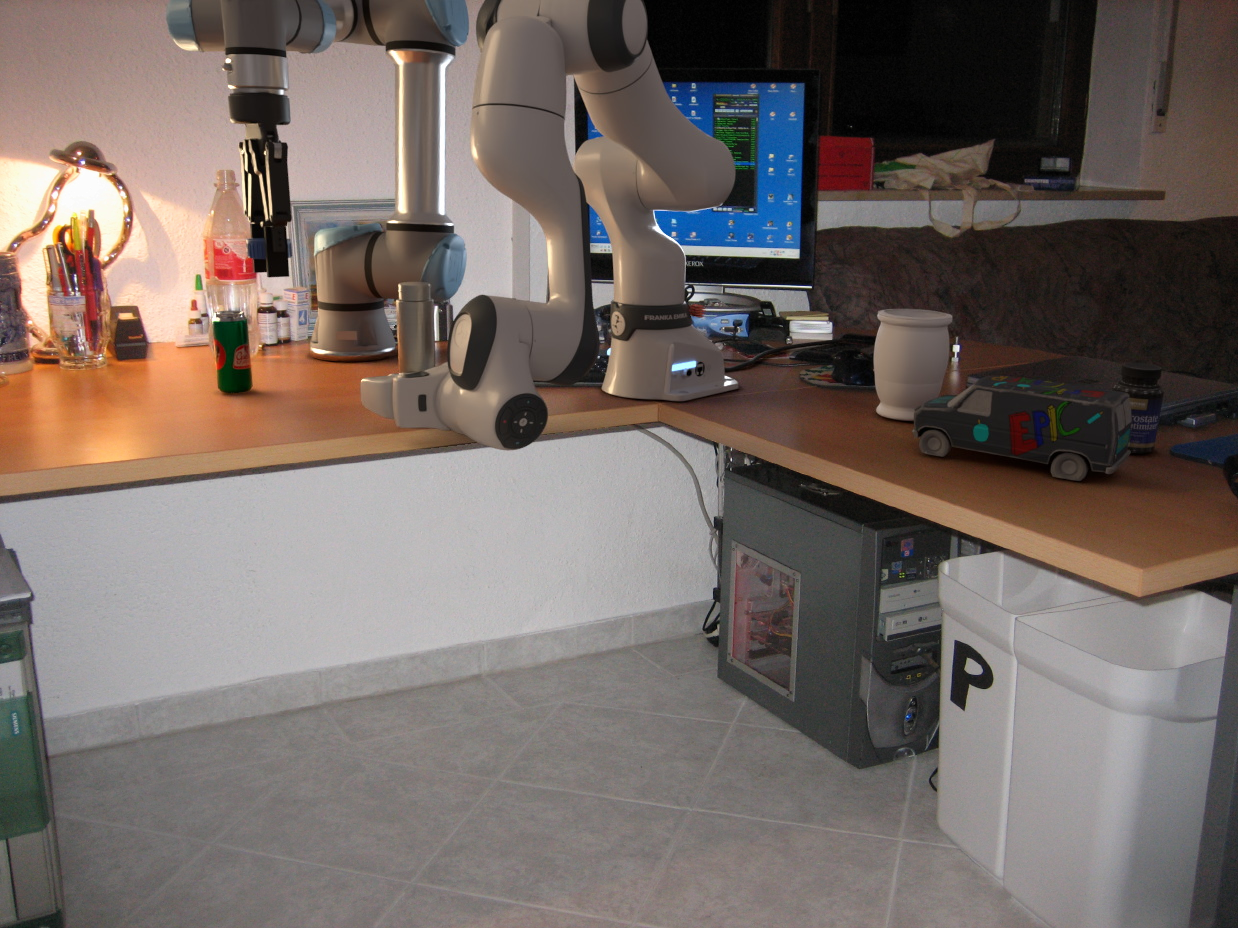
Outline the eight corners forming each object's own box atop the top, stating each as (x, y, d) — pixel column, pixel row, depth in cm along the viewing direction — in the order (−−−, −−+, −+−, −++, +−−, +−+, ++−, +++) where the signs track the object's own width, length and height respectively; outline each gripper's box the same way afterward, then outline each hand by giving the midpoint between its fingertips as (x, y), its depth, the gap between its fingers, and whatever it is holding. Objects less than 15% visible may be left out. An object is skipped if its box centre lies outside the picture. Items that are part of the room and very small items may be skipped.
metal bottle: (416, 427, 145) (411, 286, 140) (393, 421, 148) (387, 283, 143) (444, 421, 149) (440, 283, 143) (421, 415, 152) (416, 280, 146)
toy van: (934, 435, 146) (942, 362, 143) (1130, 468, 132) (1143, 388, 129) (905, 451, 137) (912, 375, 134) (1110, 488, 123) (1124, 404, 121)
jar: (854, 409, 159) (862, 309, 155) (910, 404, 163) (920, 306, 159) (898, 426, 150) (909, 320, 146) (957, 420, 154) (969, 317, 150)
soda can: (241, 395, 161) (235, 315, 157) (211, 393, 162) (204, 314, 158) (259, 388, 165) (253, 311, 162) (229, 386, 166) (223, 309, 163)
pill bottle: (1117, 454, 138) (1130, 370, 135) (1094, 442, 144) (1106, 361, 140) (1163, 454, 138) (1177, 370, 135) (1139, 442, 144) (1152, 361, 141)
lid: (273, 254, 147) (272, 237, 146) (301, 257, 144) (300, 239, 143) (238, 257, 142) (236, 239, 142) (266, 260, 139) (264, 241, 139)
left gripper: (210, 93, 143) (224, 269, 149) (249, 88, 128) (263, 283, 134) (266, 96, 147) (277, 267, 153) (311, 91, 132) (321, 280, 138)
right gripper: (530, 364, 141) (481, 347, 152) (385, 380, 130) (343, 361, 141) (530, 410, 143) (481, 391, 154) (387, 430, 132) (345, 407, 142)
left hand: (271, 274), depth 144 cm, fingers closed on lid, 6 cm apart
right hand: (414, 377), depth 147 cm, fingers closed on metal bottle, 5 cm apart
